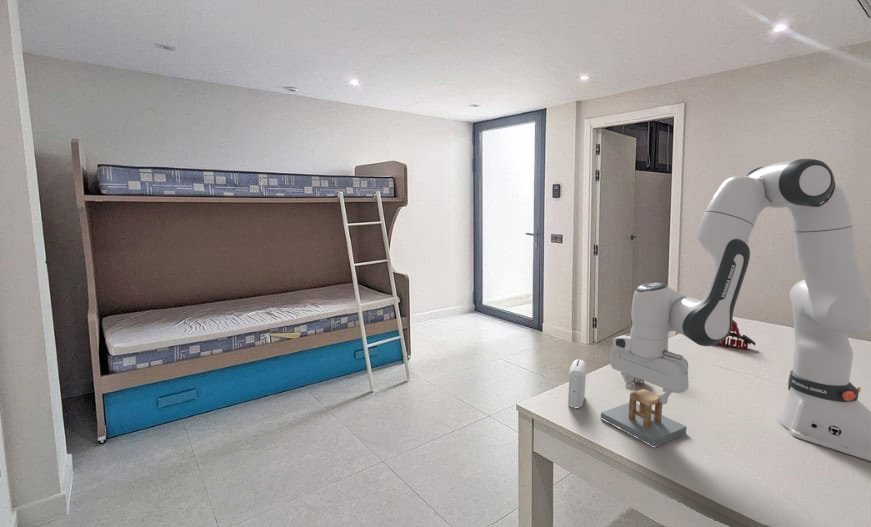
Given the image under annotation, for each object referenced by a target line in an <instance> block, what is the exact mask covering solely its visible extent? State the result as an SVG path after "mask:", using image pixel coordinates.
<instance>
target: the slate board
mask: <svg viewBox="0 0 871 527" xmlns="http://www.w3.org/2000/svg"><path fill="white" fill-rule="evenodd" d="M639 408H640V403H639V404H638V403H636V411H638V412H639ZM628 416H629V402H626V403H624V404H621V405H618V406H615V407H613V408H610V409H607V410H603V411H602V412H600V419H601V418H603V419H605V420H606V421H608V422H610V423H612V424H614V425H616V426H618V427H620V428H621V429H623V430H625V431H627V432H629V433H630V434H632V435H634V436H636V437H638V438H639V439H641V440H643V441H645V442H647V443H649V444H650V445H652V446H654V447H655V446H657V445H660V444H662V445H664V444H666V443H668V441H669V442H671V441H673V440H676V439H677V437H678V438H680V437H682V436H684V435H686V434H687V425H685V424H683V423H682V424H681V423H680V422H679V421H675V420H674V419H671V418H670V417H667V416H664V415H662V416H661V422H660V423H656V422H654V414H653V413H651V425H650V427H648V428H647V427H645V426H643V421H644V418H642V417H640V416H638V415H636V416H635V419H634V420H631V419H629V418H628ZM639 439H638V440H639ZM670 440H671V441H670ZM665 442H666V443H665ZM663 443H664V444H663ZM650 445H649V446H650ZM652 446H651V447H652ZM660 446H661V445H660ZM654 447H653V448H654ZM655 448H656V447H655Z"/></svg>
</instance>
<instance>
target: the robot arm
mask: <svg viewBox="0 0 871 527" xmlns="http://www.w3.org/2000/svg"><path fill="white" fill-rule="evenodd" d="M834 175H835V174H834V173H833V171H832V169H831V168H830V166H829V165H828V164H826V163H825V161H821V160H820V159H819V160H818V159H814V158H799V159H796V160H785V161H779V162H775V163H773V164H769V165H766V166H761V167H757V168H755V169H753V170H751V171H749V172H748V173H746V174H745V175H734V176H731V177H728V178H726V179H725V180H724V181H723V182H722V184H721V185H720V186H719V187H718V189H717V190H716V191H715V193H714V194H713V197H712V198H711V199H710V202H709V203H708V205H707V207H706V208H705V211H704V213H703V215H702V217H701V218H700V221H699V222H698V227H697V233H696V236H697V240H698V242H699V243H700V245H701V246H702V248H703V249H704V250H705V251H707V252H708V253H709V254H710V255H711V257H712V259H713V261H714V271H713V274H712V277H711V279H710V282H709V286H708V288H707V291H706V294H705V297H704V298H703V299H702V300H700V299H699V298H696V297H693V296H690V295H687V294H685V293H681V292H679V291H676V290H675V289H672V288H671V287H670V286H668V284H666V283H664V282H663V283H662V282H646V283H642V284H640V285H638V286H637V287H635V288H636V289H635V290H634V293H633V295H632V303H631V309H630V310H631V313H630V314H631V315H630V316H631V317H630V318H631V322H632V323H631V324H632V325H631V328H630V333H628V334H623V335H619V336H616V337H613V338H612V345H613V346H612V348H611V351H610V363H609V364H610V366H611V368H612V369H613V370H616V371H618V372H620V373H622V374H621V375H622V378H623V380H624V382H625V389H626V390H629V391H634V390H635V386H636V383H633V382H632V380H631V377H630V376H633V377H636V378H639V379H641V380H644V382H647V383H649V384H651V385H655V386H657V387H659V388H662V392H664V393H663V394H660V395H659V396H658V399H659V400H658V402H659V403H662V405H666V404H668V399H669V397H670V395H671V394H672V393H676V394H681V393H684V392H686V391H687V390H688V389H689V385H690V384H689V372H688V371H689V362H688V361H687V359H686V358H685V357H684V356H683V355H681V354H680V353H679V354H678V353H674V352H672V351H669V334H670V332H673V331H674V332H676V333H678V334H680V335H682V336H684V337H686V338H688V339H689V340H691V341H692V342H693V343H695V344H697V345H698V346H702V347H712V346H717V345H718V343H720V342H721V341H723V340H724V339H725V338H726V339H727V338H728V337H729V336H728V335H729V333H730V331H731V327H732V320H734V311H735V306H736V303H737V300H738V297H739V294H740V291H741V288H742V286H743V281H744V278H745V276H746V272H747V270H748V266H749V262H750V256H751V250H750V247H749V241H750V237H751V235H752V234H751V233H752V232H753V229H754V227H755V225H756V222H757V221H758V218H759V215H760V213H762V211H763V210H764V209H766V208H778V209H779V208H780V209H781V208H787V209H788V210H789V213H791V216H792V230H793V240H794V248H795V249H794V251H795V258H796V259H795V260H796V263H797V264H798V266H799V268H800V270H801V274H802V276H803V278H804V279H802V280H800V281H797V282H796V283H795V284H794V285H793V286H792V287H791V289H790V292H789V300H790V302H791V306H792V317H793V318H792V319H793V328H794V338H795V340H794V344H795V345H794V346H795V347H794V355H793V356H794V357H793V364H792V369H791V370H790V371H789V372H790V373H789V376H788V382H787V386H788V387H787V390H788V395H787V398H786V401H785V404H784V407H783V409H782V411H781V413H780V415H779V416H778V421H779V423H780V424H781V425H782V426H783V427H785V428H786V429H787V430H788V431H789V432H790V434H791V435H792V436H794V437H795V438H797V439H800V440H803V441H808V442H810V443H813V444H816V445H818V446H822V447H825V448H829V449H831V450H835V451H837V452H838V451H839V452H841V453H844V454H846V455H851V456H853V457H856V458H859V459H863V460H865V461H869V462H871V410H870V409H869V408H868V407H867V406H866V405H864V404H863V403H862V402H861V401H860V400H859V393H860V392H861V386H858V387H857V388H856V387H855V386H854V384H852V383H851V382H850V379H851V371H852V366H853V365H852V364H853V358H854V353H853V352H854V351H853V348H852V346H851V343H850V340H849V336H848V335H858V334H862V333H865V332H867V331H869V330H871V295H870V293H869V290H868V288H867V285H866V282H865V280H864V277H863V274H862V272H861V269H860V266H859V262H858V259H857V255H856V254H857V253H856V247H855V238H854V227H853V218H852V213H851V208H850V204H849V201H848V198H847V195H846V193H845V191H844V189H843V188H842V187H841V186H839V185H837V184H836V181H835V177H834ZM731 332H732V331H731ZM727 336H728V337H727ZM716 344H717V345H716Z"/></svg>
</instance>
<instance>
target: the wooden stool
mask: <svg viewBox="0 0 871 527" xmlns="http://www.w3.org/2000/svg"><path fill="white" fill-rule="evenodd" d="M658 396H660V395H659V394H656V393H654V392H652V391H649V390H647V389H644V388H642V389H639V390H637V391H633V392H630V393H629V401H628V403H629V416H628V418H629V419H631V420H634V419H635V416H636V415H638V416H640V417H642V418H644V421H643V426H645V427H647V428H648V427H650V425H651V413H653V414H654V422H656V423H660V422H661V416H662V413H663V404H662V403H659V402H658V400H659V399H658ZM637 403H639V405H640V408H639V412H638V411H636V404H637ZM653 406H654V409H653Z"/></svg>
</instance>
